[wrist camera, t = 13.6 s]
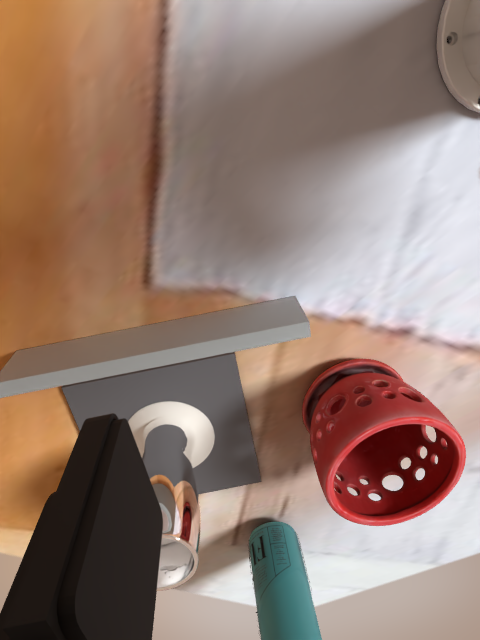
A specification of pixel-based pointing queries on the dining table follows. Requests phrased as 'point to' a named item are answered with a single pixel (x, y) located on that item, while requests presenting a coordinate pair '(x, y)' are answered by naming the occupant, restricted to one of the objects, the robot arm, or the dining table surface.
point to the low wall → (154, 346)
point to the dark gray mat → (182, 413)
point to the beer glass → (174, 496)
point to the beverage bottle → (281, 584)
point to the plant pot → (378, 443)
